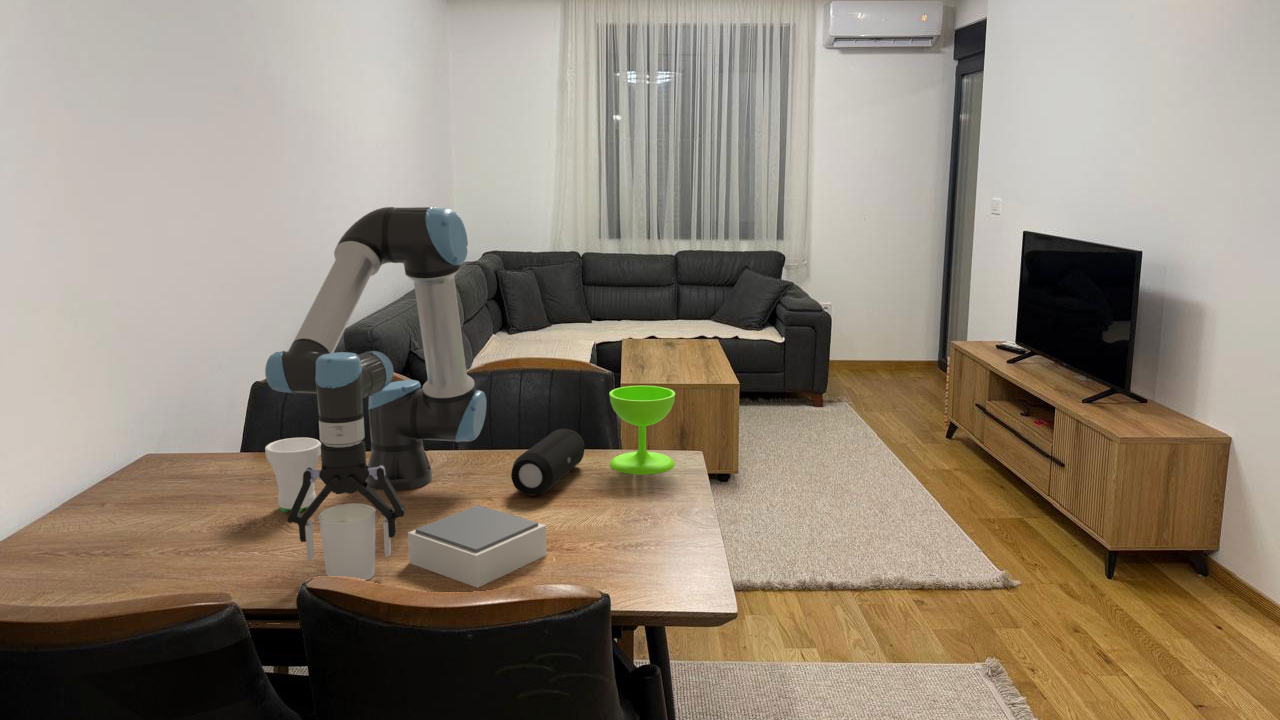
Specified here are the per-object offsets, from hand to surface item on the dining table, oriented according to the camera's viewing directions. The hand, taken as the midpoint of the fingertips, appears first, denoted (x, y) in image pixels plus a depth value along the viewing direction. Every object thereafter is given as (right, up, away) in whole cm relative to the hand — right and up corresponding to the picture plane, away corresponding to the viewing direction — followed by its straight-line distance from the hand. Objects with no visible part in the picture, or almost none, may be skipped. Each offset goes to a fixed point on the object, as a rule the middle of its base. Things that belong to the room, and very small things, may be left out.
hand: (349, 556), depth 176 cm
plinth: (+22, -2, +8) cm, 23 cm away
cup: (-21, +3, +35) cm, 41 cm away
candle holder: (0, -4, +1) cm, 4 cm away
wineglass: (+53, +9, +65) cm, 84 cm away
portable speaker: (+31, +7, +53) cm, 62 cm away
